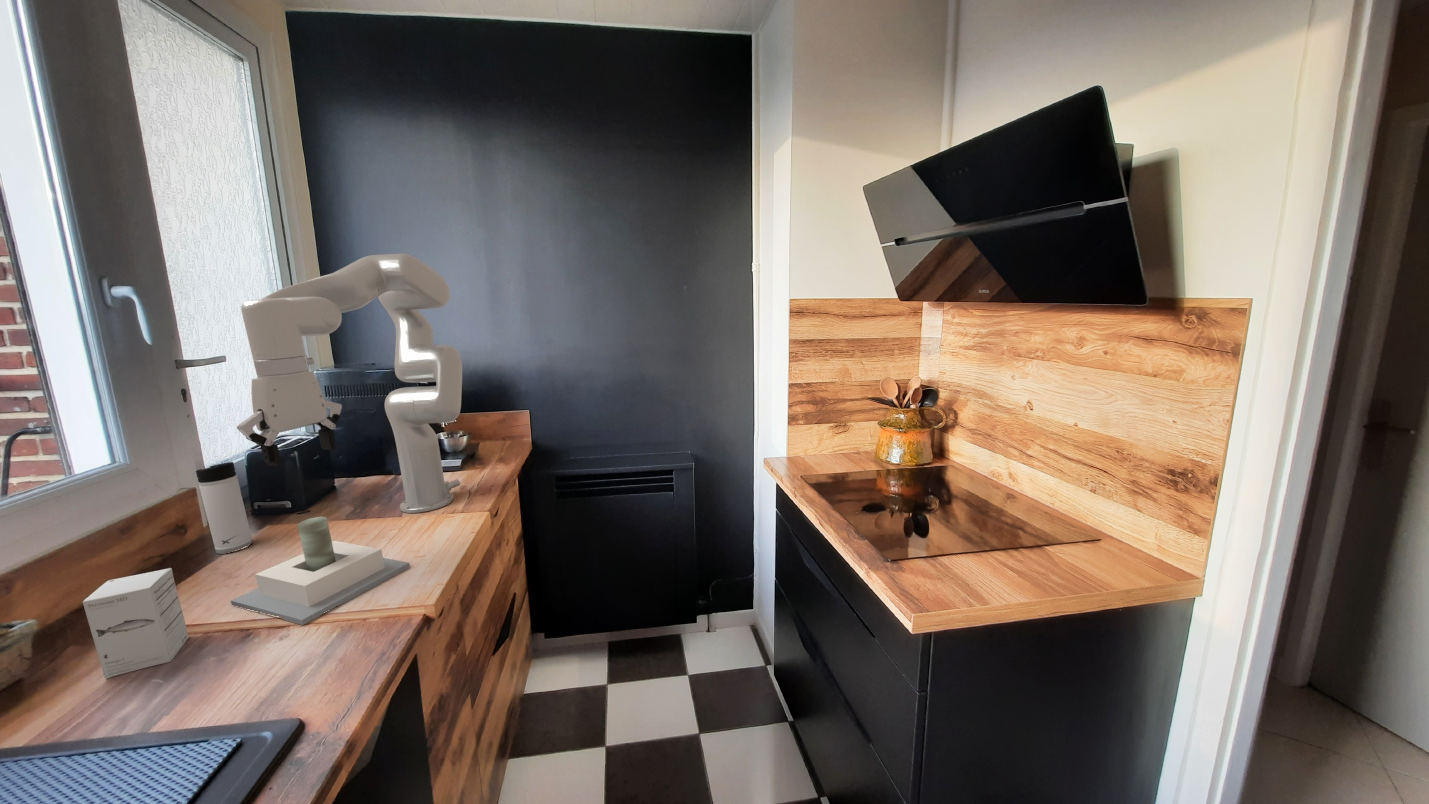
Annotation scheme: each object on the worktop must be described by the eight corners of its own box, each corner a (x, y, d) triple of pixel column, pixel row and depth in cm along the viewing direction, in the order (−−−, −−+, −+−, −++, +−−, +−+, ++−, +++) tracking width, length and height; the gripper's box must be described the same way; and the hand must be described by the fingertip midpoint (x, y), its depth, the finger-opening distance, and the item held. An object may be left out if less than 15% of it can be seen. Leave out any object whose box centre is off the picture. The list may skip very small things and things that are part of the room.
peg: (329, 572, 103) (317, 515, 100) (344, 576, 101) (332, 518, 99) (305, 584, 99) (291, 525, 96) (320, 588, 97) (307, 527, 95)
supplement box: (103, 681, 76) (78, 602, 74) (129, 652, 83) (107, 578, 80) (171, 663, 79) (149, 586, 77) (191, 636, 86) (172, 565, 83)
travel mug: (232, 555, 115) (210, 468, 111) (208, 553, 117) (186, 468, 113) (261, 542, 121) (241, 459, 117) (238, 541, 123) (218, 459, 119)
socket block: (343, 554, 113) (339, 532, 112) (410, 567, 106) (405, 544, 105) (231, 605, 95) (225, 580, 94) (302, 625, 87) (296, 598, 86)
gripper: (317, 360, 105) (335, 442, 109) (212, 375, 89) (237, 471, 93) (343, 360, 102) (360, 444, 106) (239, 376, 87) (264, 474, 90)
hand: (303, 457), depth 99 cm, fingers open, 9 cm apart
